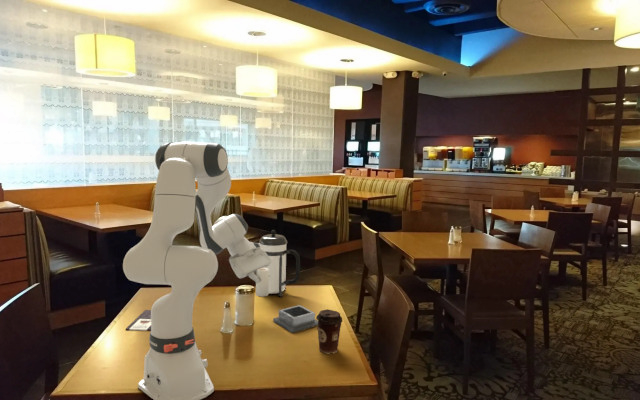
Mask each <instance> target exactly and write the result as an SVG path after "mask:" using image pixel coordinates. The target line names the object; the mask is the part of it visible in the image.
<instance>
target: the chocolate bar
mask: <svg viewBox="0 0 640 400" xmlns="http://www.w3.org/2000/svg"><path fill="white" fill-rule="evenodd" d="M125 331H145V332H146V331H148V332H151V309H145V310H144V311H142V313H140V315H138V316H137V317H136V318H135V320H133V321H132V322H131V323H130V324H129V325H128V326H126V328H125Z"/></svg>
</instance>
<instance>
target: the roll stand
mask: <svg viewBox="0 0 640 400" xmlns="http://www.w3.org/2000/svg"><path fill="white" fill-rule="evenodd" d="M315 314H316V313H315V312H314V311H313V310H310V309H309V308H306V307H305V306H303V305H301V304H298V305H295V306H291V307H286V308H282V309H278V317H274V318H273V319H272V322H274V323H275V324H277V325H278V326H280V327H282V328H283V329H284V330H286V331H288V332H289V333H291V334H295V333H299V332H301V331H304V329H305V330H308V329H311V328H314V327H313V326H315V327H317V326H316V325H318V320H317V319H316V315H315ZM310 327H311V328H310ZM307 328H308V329H307Z"/></svg>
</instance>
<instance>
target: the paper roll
mask: <svg viewBox="0 0 640 400" xmlns="http://www.w3.org/2000/svg"><path fill="white" fill-rule="evenodd" d="M255 275H256V276H257V277H260V279H261V281H260V282H259V283H256V282H255V296H257V297H267V296H269V294H270V293H269V269H268V268H259V269H257V270H256V272H255Z"/></svg>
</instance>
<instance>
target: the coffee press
mask: <svg viewBox="0 0 640 400" xmlns="http://www.w3.org/2000/svg"><path fill="white" fill-rule="evenodd" d="M258 243H259V244H260V245H261V249H263V250H264V251H265V252H266V254H267V255H268V256H269V258H270V259H271V264H270V265H269V266H267V267H266V268H268V269H269V275H270V277H269V294H271V295H272V294H277V295H278V297H279V296H280V297H279V298H283V297H282V296H284V294H283V292H285V291H286V290H287V287H286V285H292V284H293V285H294V284H296V283H297V282H298V281H299V278H300V273H301V272H300V271H301V258H300V255H299V253H298V252H297V251H296V250H293V249H287V244H288V240H287V239H286V237H285V236H284V235H282V234H277V231H276V230H275V229H272V230H271V231H270V234H265V235H263V236H261V238H260V239H259V242H258ZM287 254H290V255H293V256H294V257H295V278H293V279H286V277H287V276H286V275H287V272H286V271H287V270H286V269H287V267H286V266H287ZM285 289H286V290H285ZM284 290H285V291H284Z"/></svg>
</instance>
